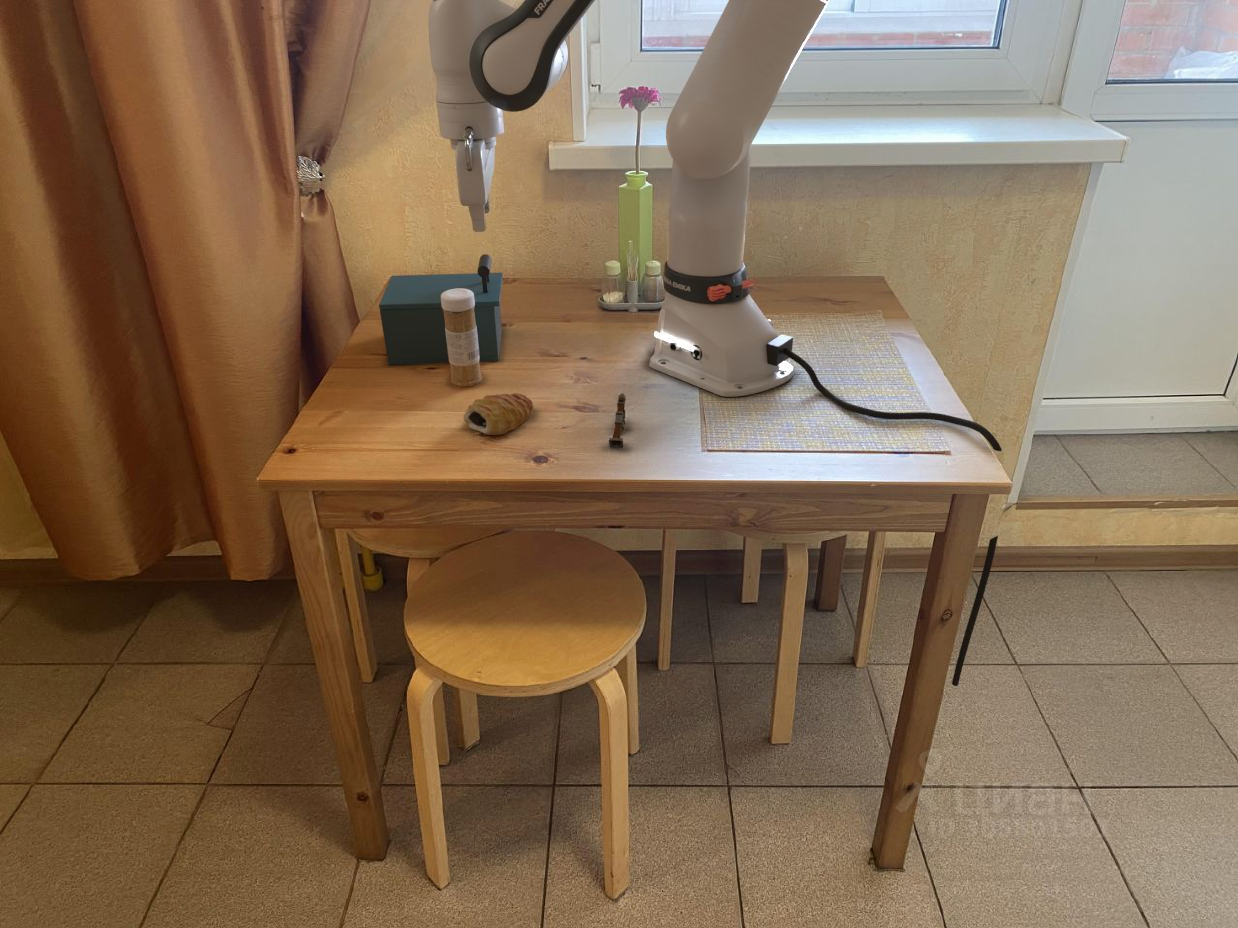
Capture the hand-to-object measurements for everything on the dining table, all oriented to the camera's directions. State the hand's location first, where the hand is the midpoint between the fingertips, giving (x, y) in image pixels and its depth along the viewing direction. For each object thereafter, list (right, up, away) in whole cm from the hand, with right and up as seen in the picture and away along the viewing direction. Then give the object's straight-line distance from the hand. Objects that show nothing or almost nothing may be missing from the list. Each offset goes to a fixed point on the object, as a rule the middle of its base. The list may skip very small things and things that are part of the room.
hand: (481, 221), depth 129 cm
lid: (-7, -9, +6) cm, 13 cm away
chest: (-7, -17, +10) cm, 21 cm away
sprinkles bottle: (-2, -24, 0) cm, 24 cm away
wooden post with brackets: (+20, -32, -14) cm, 40 cm away
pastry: (+4, -30, -11) cm, 32 cm away
